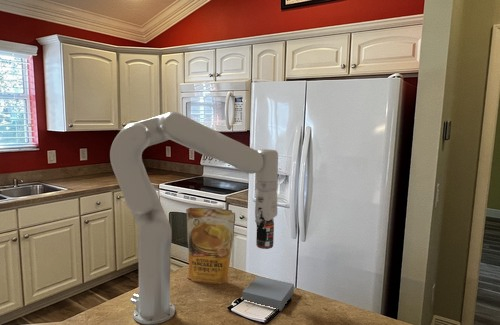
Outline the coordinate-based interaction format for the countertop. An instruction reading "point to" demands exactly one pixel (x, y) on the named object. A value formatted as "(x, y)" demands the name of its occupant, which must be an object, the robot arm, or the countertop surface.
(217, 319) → the countertop surface
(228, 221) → the pancake mix bag
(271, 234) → the supplement bottle
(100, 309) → the countertop surface
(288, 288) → the slate riser block
